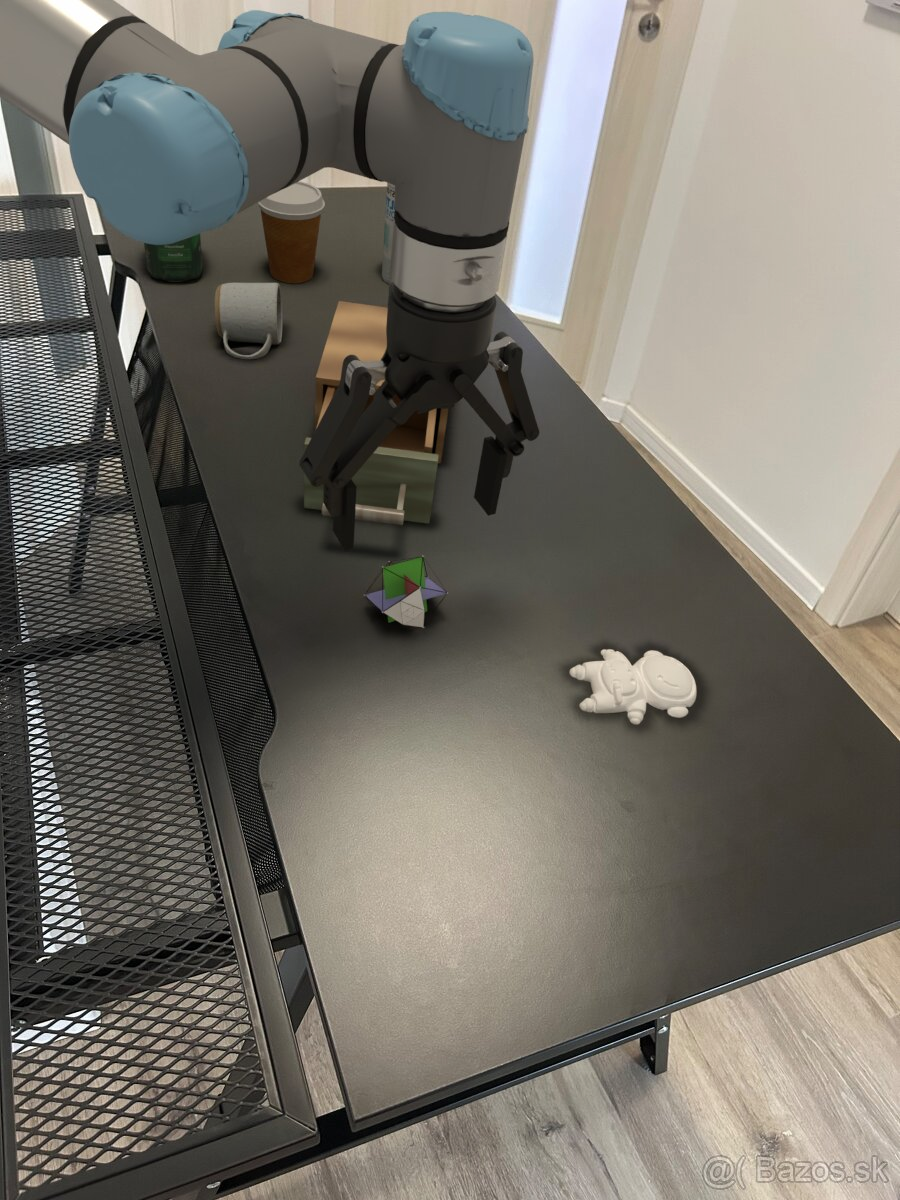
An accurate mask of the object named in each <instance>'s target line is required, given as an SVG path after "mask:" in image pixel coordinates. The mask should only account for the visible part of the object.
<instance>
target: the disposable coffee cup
mask: <svg viewBox="0 0 900 1200" xmlns="http://www.w3.org/2000/svg"><path fill="white" fill-rule="evenodd" d="M257 204H258V207H259V209H260V215H261V222H262V228H263V234H264V241H265V247H266V253H267V259H268V267H269V272H270V275H271V277H273V278H274V279H276V280H277V281H279V282H281V283H282V282H283V283H288V284H301V283H305V282H309V281H310V280H311V279H312V278H313V276H314V267H315V261H316V253H317V246H318V239H319V232H320V224H321V223H320V222H321V217H322V213H323V210H324V209H325V205H326V203H325V200H324V199H323V195H322V191H321V190H320V189H319V188H318V187H317V186H315V185H313V184H310V183H307V182H304V181H301V180H300V181H298V182H297V183H295V184H293V185H291V186H289V187H287V188H285V189H282V190H280V191H278V192H276V193H274V194H272V195H270V196H268V197H267V198H265V199H263V200H261V201H260V202H258V203H257Z"/></svg>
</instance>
